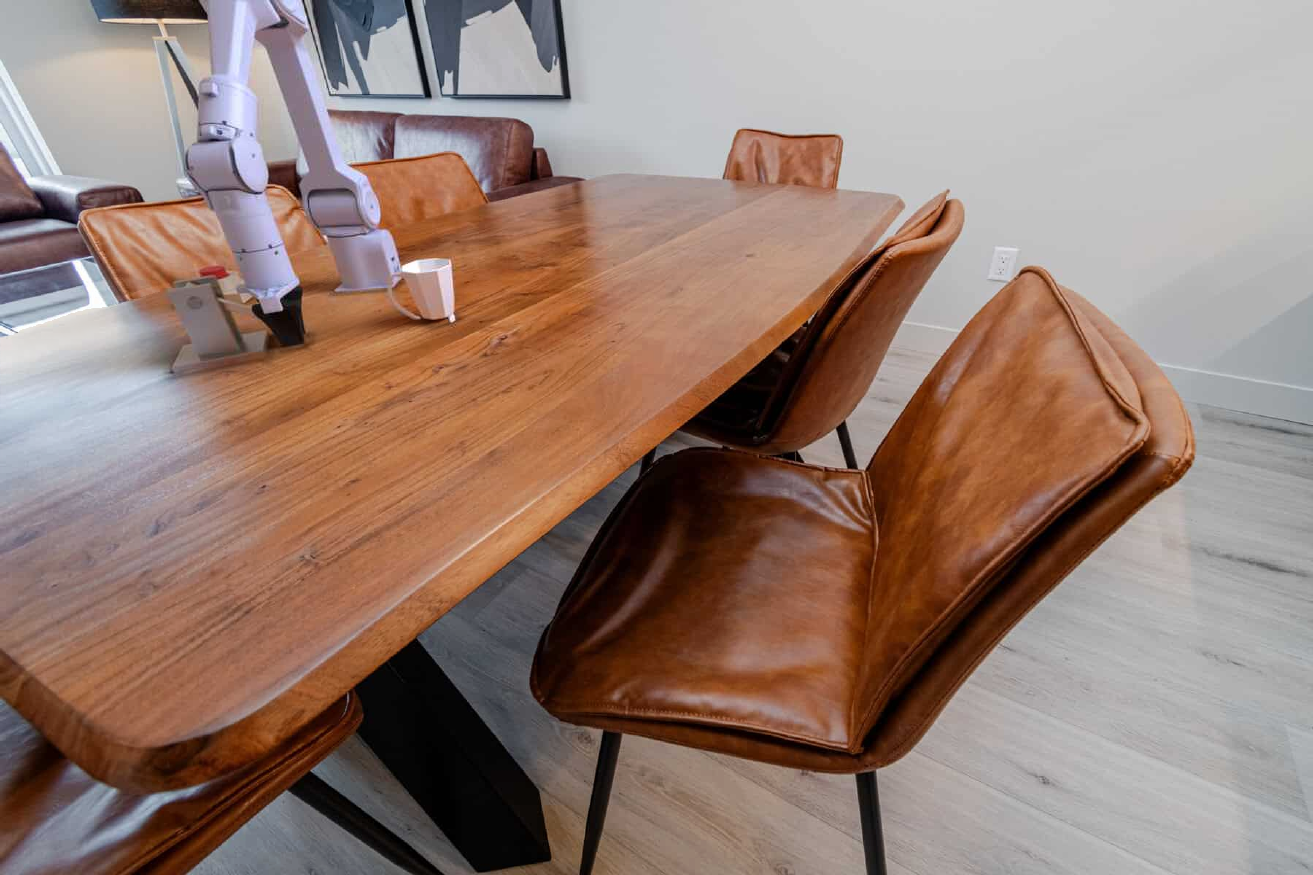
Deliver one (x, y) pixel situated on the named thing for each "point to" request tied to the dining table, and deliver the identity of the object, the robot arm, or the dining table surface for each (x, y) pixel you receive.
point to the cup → (427, 288)
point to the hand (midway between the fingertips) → (297, 347)
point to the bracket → (210, 327)
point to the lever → (232, 305)
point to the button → (214, 272)
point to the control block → (233, 288)
